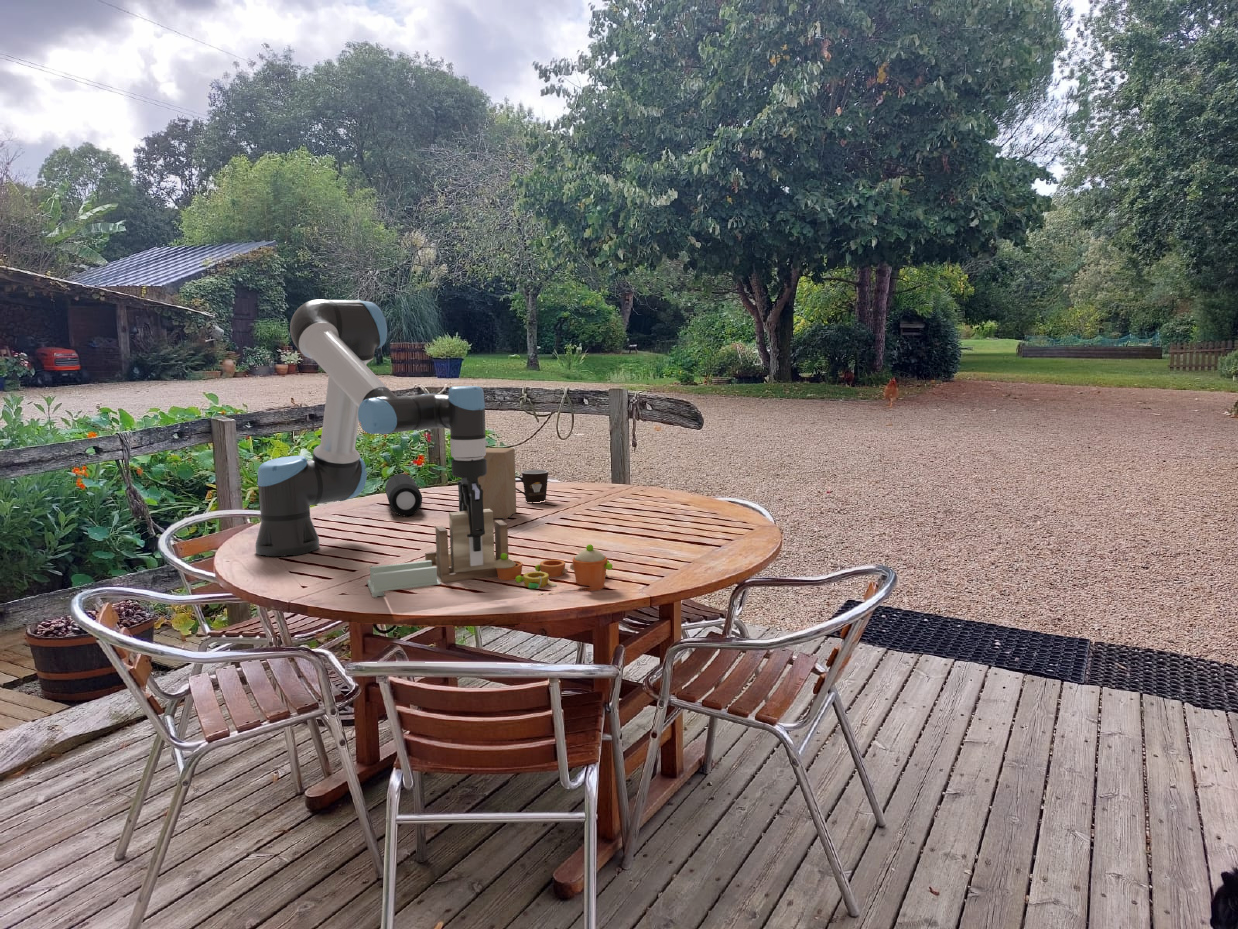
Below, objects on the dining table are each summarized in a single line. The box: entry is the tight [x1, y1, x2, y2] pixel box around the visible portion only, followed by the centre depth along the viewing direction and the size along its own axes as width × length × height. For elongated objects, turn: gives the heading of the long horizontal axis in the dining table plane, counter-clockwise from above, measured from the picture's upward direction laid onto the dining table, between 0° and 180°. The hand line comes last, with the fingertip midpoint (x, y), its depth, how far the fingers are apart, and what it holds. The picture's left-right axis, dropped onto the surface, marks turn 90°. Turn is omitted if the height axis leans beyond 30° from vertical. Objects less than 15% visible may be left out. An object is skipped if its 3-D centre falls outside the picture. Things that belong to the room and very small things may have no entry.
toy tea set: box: [492, 543, 613, 595], centre depth 180 cm, size 26×16×10 cm, turn 102°
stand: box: [366, 560, 442, 598], centre depth 179 cm, size 10×14×4 cm
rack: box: [424, 519, 509, 583], centre depth 189 cm, size 17×16×12 cm
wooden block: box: [478, 447, 517, 520], centre depth 250 cm, size 10×10×20 cm
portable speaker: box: [384, 473, 423, 517], centre depth 262 cm, size 26×10×10 cm, turn 18°
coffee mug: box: [515, 469, 549, 502], centre depth 272 cm, size 12×9×10 cm
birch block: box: [448, 509, 496, 573], centre depth 183 cm, size 3×9×14 cm, turn 113°
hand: (472, 561), depth 184 cm, fingers open, 6 cm apart
